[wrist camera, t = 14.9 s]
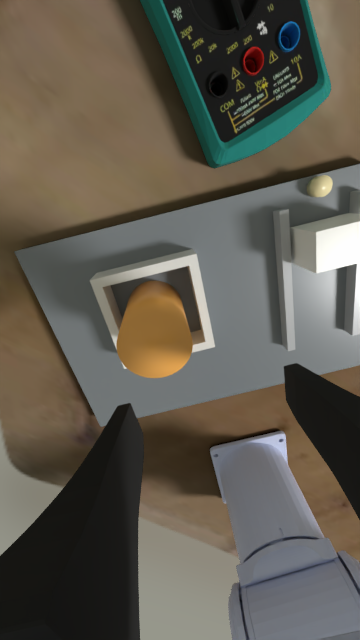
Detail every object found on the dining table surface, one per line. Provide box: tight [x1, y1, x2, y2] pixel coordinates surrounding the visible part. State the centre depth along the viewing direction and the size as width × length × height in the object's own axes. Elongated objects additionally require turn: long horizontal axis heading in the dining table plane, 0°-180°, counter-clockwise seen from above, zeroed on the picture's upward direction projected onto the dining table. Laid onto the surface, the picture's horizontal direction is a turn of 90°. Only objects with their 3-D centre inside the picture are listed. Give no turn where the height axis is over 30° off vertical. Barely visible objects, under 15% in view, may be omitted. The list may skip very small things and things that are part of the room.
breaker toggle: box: [290, 213, 360, 273], centre depth 16 cm, size 2×4×3 cm, turn 103°
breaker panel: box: [15, 163, 360, 427], centre depth 19 cm, size 16×24×3 cm, turn 103°
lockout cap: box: [116, 281, 193, 378], centre depth 16 cm, size 4×4×6 cm
